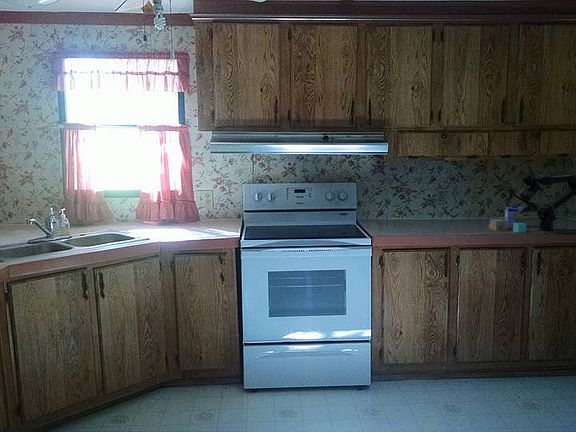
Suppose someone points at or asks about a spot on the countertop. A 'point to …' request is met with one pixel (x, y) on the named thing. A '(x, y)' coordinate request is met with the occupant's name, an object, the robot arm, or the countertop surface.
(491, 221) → the tower top
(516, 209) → the ink cartridge box
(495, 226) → the tower base
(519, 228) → the teal cube
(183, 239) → the countertop surface
